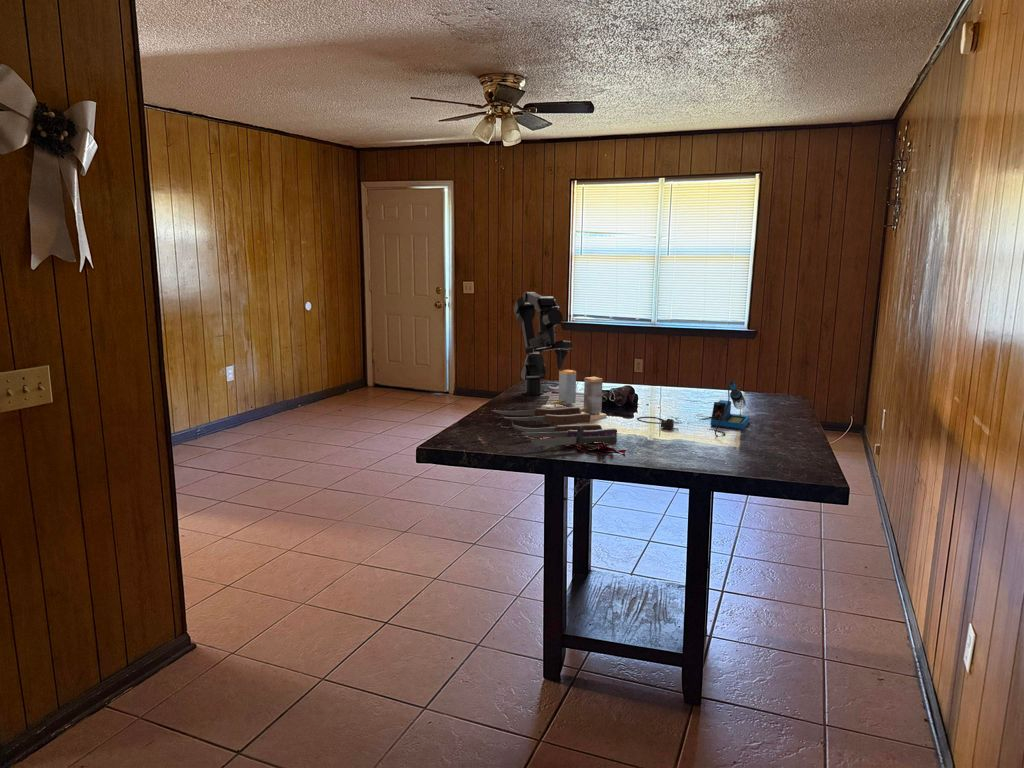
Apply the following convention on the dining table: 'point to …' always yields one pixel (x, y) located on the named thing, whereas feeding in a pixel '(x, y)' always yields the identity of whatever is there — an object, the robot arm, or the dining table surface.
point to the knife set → (563, 427)
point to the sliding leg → (566, 387)
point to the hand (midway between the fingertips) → (549, 370)
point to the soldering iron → (718, 413)
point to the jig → (588, 399)
